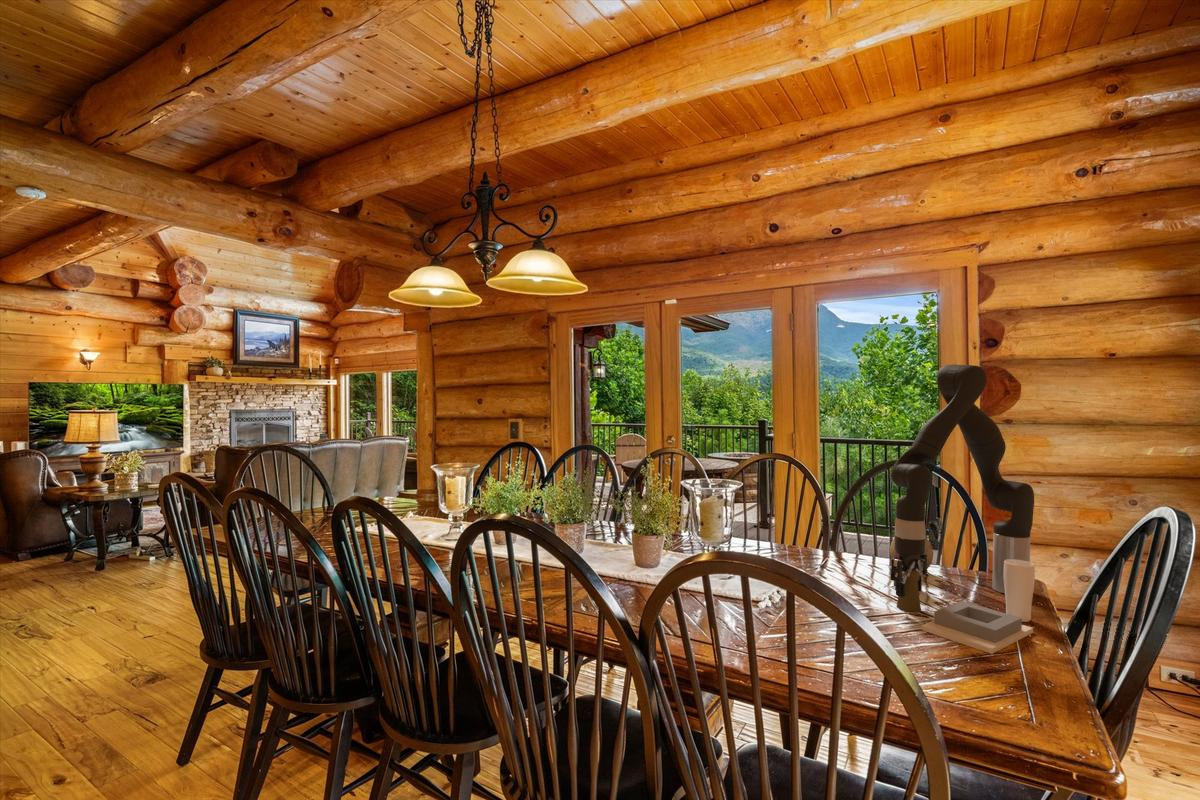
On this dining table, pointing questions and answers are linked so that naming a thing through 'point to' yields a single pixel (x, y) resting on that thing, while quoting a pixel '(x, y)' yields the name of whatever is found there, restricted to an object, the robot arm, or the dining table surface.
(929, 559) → the fossilized egg
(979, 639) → the socket board
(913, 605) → the cork
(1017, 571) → the drinking glass
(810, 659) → the dining table surface
